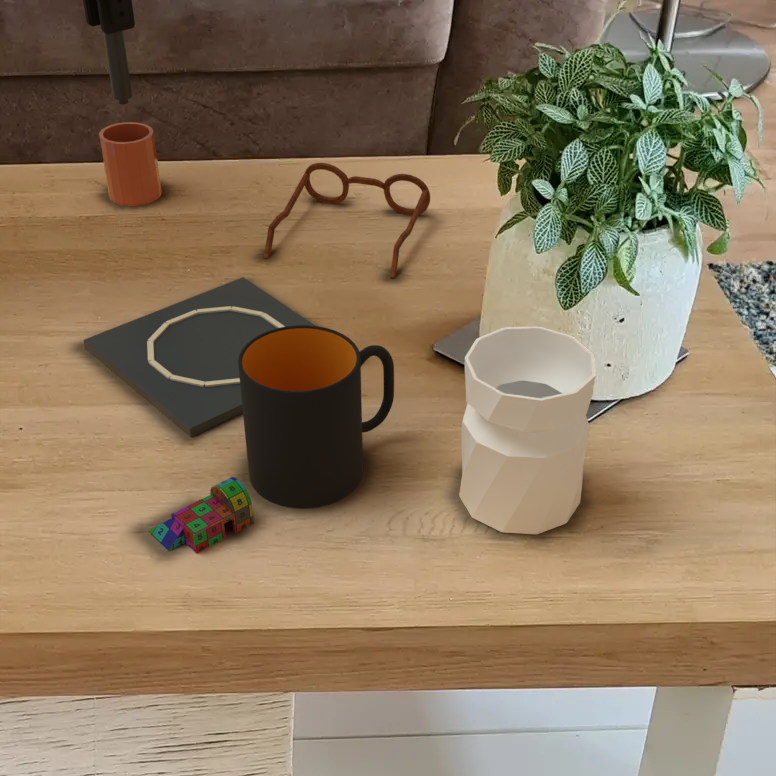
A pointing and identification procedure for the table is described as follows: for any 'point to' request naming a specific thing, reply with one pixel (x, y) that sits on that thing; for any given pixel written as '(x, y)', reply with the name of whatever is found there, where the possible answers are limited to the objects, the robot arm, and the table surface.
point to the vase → (525, 428)
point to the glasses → (305, 181)
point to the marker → (118, 66)
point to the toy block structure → (207, 518)
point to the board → (193, 352)
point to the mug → (307, 413)
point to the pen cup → (130, 163)
